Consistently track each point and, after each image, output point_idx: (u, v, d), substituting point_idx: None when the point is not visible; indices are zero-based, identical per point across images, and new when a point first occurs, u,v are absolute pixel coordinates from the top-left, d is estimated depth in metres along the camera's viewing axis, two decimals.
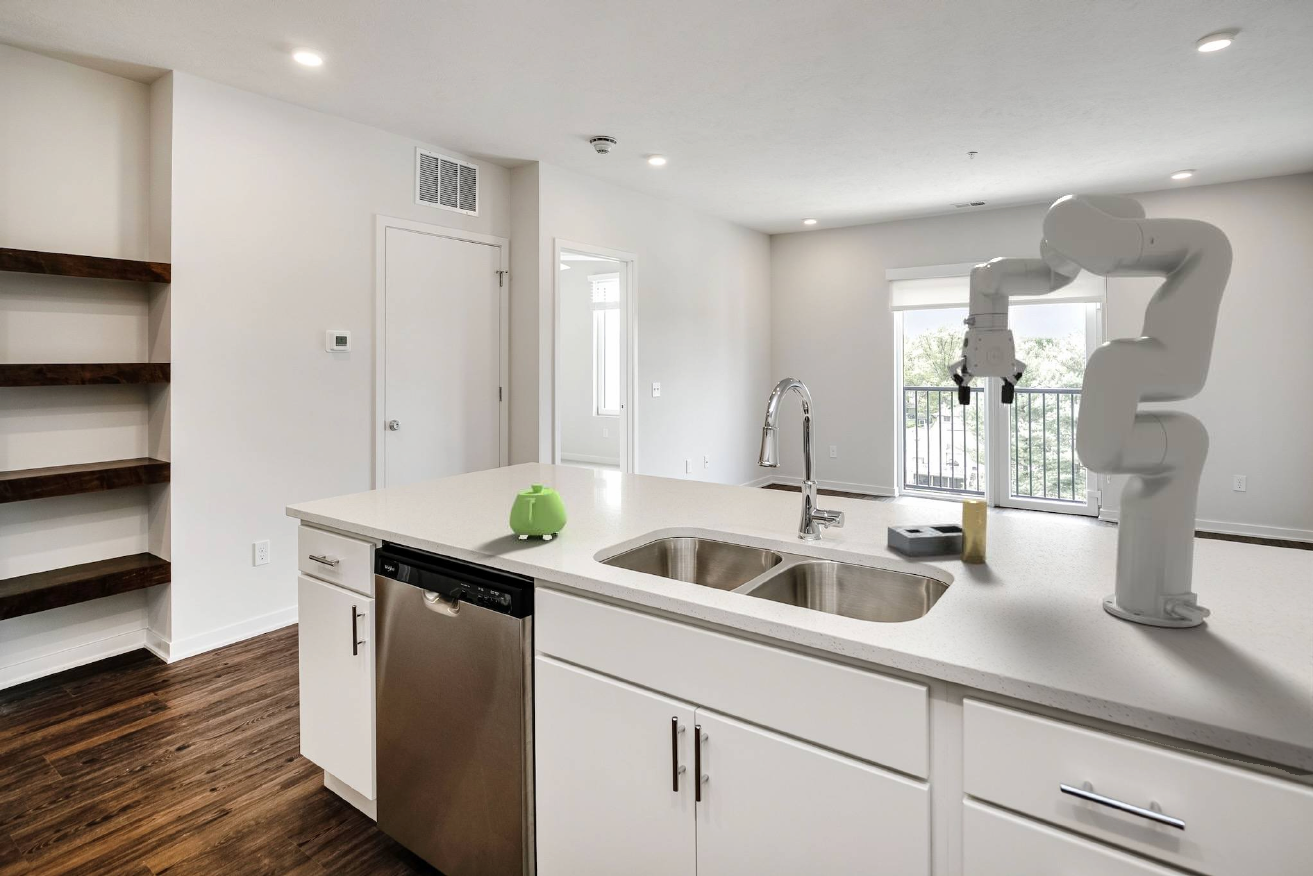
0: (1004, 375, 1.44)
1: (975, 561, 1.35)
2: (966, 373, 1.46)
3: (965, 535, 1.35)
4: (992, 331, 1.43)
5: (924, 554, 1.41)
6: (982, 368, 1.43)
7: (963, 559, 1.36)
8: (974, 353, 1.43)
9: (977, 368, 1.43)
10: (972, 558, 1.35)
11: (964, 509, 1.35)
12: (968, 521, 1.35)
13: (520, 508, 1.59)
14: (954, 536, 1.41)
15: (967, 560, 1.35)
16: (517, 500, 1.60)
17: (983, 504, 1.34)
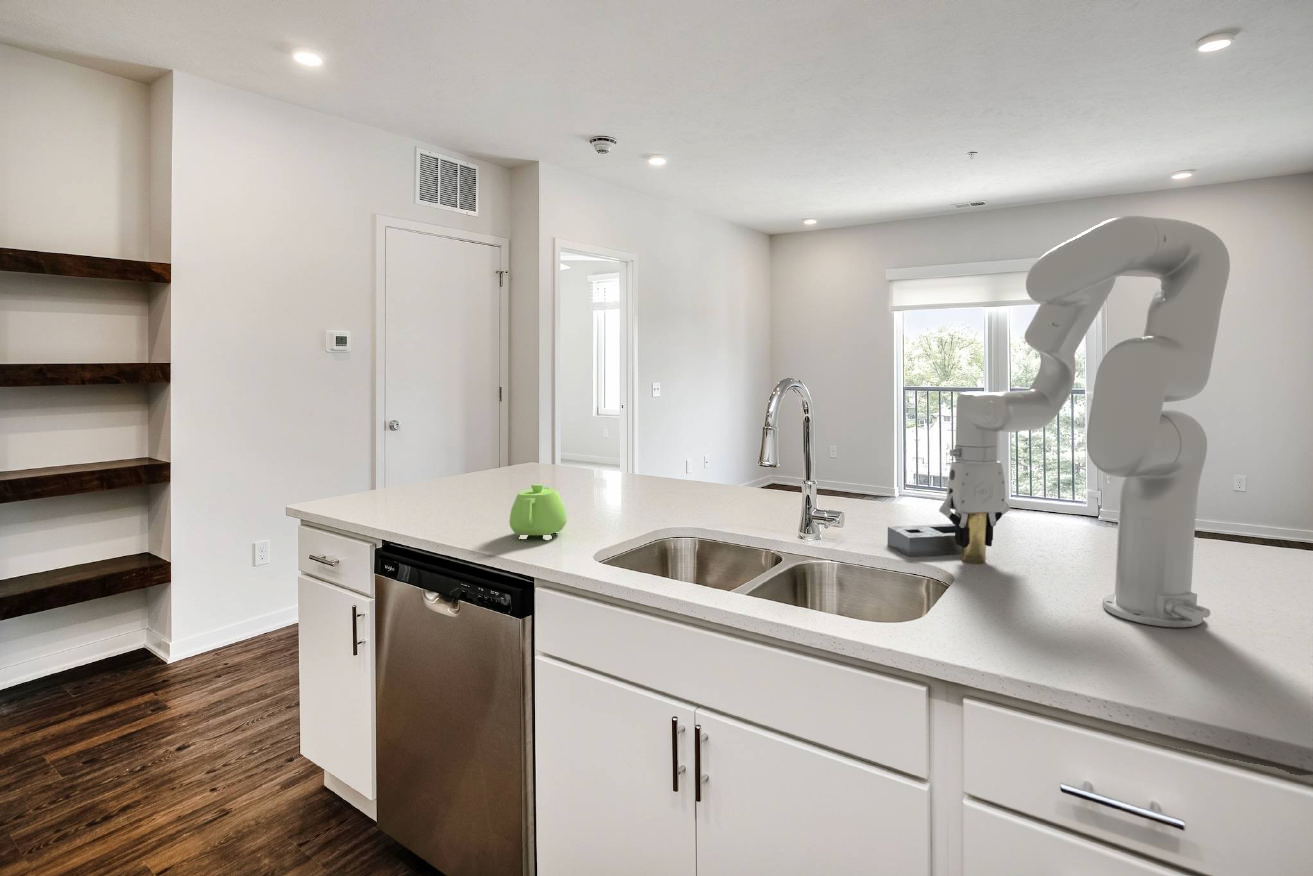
0: (993, 511, 1.33)
1: (975, 561, 1.35)
2: (958, 511, 1.35)
3: None
4: (980, 465, 1.32)
5: (924, 554, 1.41)
6: (970, 504, 1.33)
7: (963, 559, 1.36)
8: (961, 488, 1.32)
9: (964, 504, 1.32)
10: (972, 558, 1.35)
11: None
12: (968, 521, 1.35)
13: (520, 508, 1.59)
14: (954, 536, 1.41)
15: (967, 560, 1.35)
16: (517, 500, 1.60)
17: None
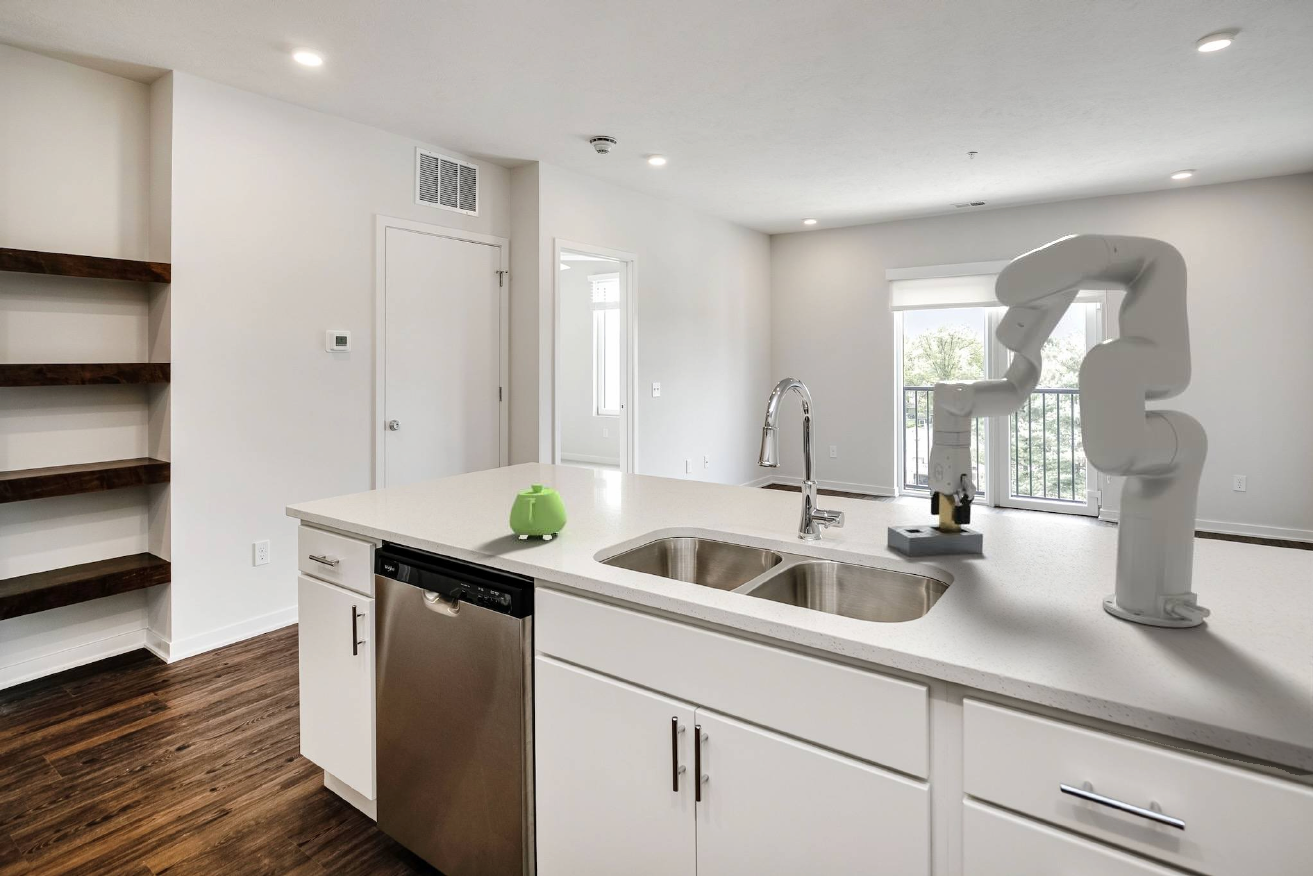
0: (944, 493, 1.43)
1: None
2: None
3: None
4: (937, 448, 1.45)
5: (924, 554, 1.41)
6: (931, 481, 1.48)
7: None
8: (929, 466, 1.49)
9: (929, 481, 1.49)
10: None
11: None
12: None
13: (520, 508, 1.59)
14: (954, 536, 1.41)
15: None
16: (517, 500, 1.60)
17: (942, 494, 1.45)
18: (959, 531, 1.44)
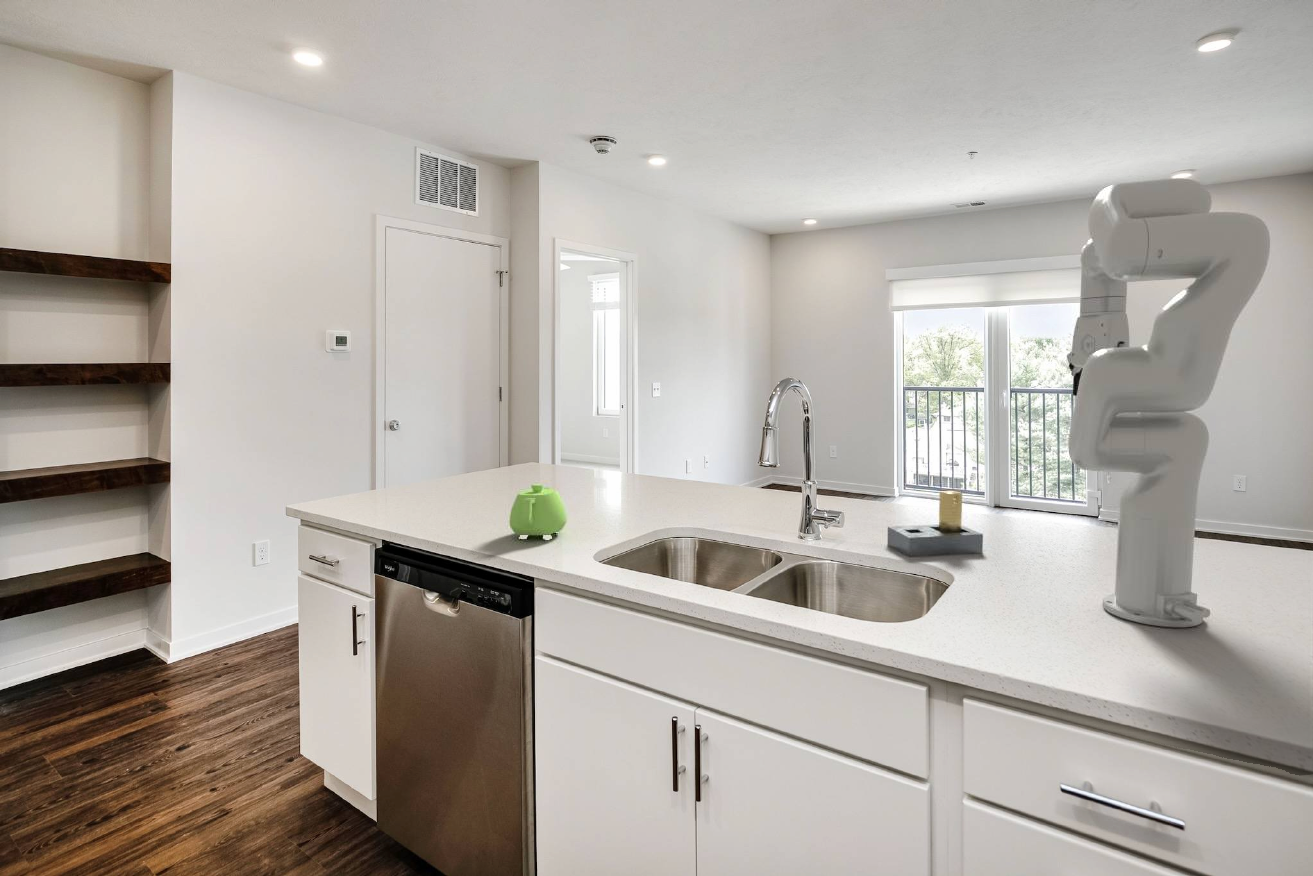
0: None
1: None
2: None
3: None
4: (1086, 318, 1.33)
5: (924, 554, 1.41)
6: (1077, 357, 1.36)
7: None
8: (1073, 342, 1.37)
9: (1074, 357, 1.37)
10: None
11: None
12: None
13: (520, 508, 1.59)
14: (954, 536, 1.41)
15: None
16: (517, 500, 1.60)
17: (942, 494, 1.45)
18: (959, 531, 1.44)
